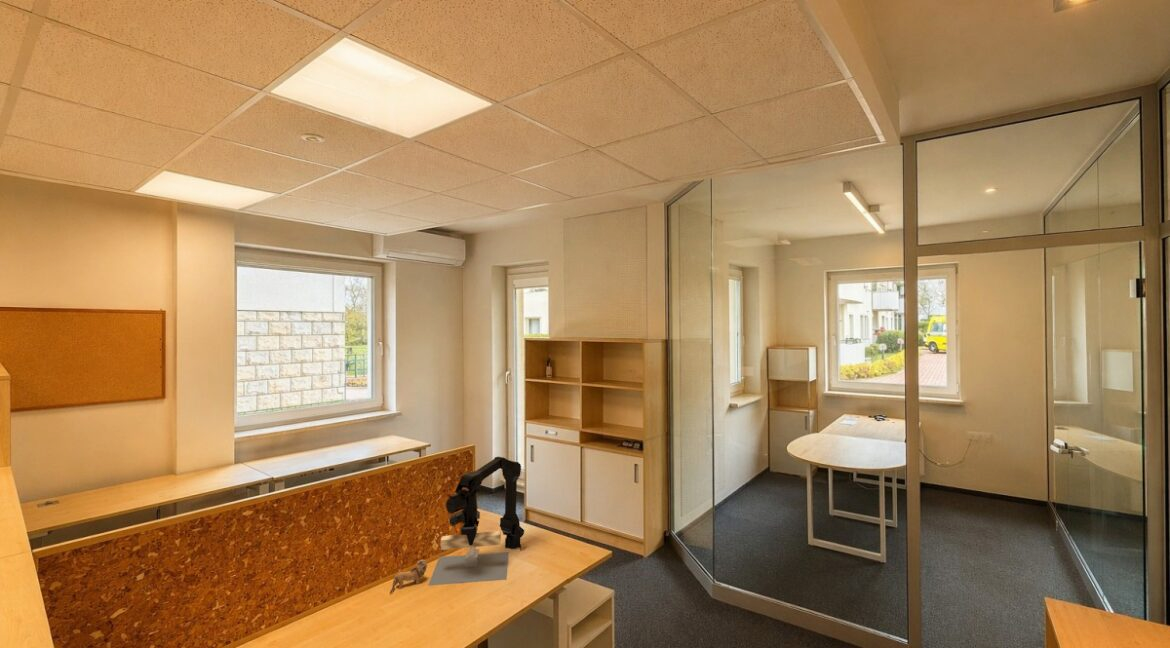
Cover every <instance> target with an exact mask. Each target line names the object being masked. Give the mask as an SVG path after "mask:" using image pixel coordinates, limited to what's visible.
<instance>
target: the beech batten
mask: <svg viewBox="0 0 1170 648" xmlns="http://www.w3.org/2000/svg"><path fill="white" fill-rule="evenodd" d="M501 531H502V530H496V531H485V532H477V533H476V536H475V539H474V542H473V545H469V542H468V538H467V535H461V533H460V534H451V535H441V538H440V550H441V551H445V550H454V549H455V550H456V549H467V548H470V547H476V548H478V547H487V546H488V547H489V546H498V545H499V546H500V545H501V544H502V542H501V540H502V534H501Z"/></svg>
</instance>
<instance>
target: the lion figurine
mask: <svg viewBox="0 0 1170 648" xmlns="http://www.w3.org/2000/svg"><path fill="white" fill-rule="evenodd" d="M427 568H428V564H427V560H425V559H420V560H418V561H417V562H416V564H415V566H414V567H413V568H412V569H411V570H409V571H399V572H398V573H397V574H395V576H394V578H393V581H392V585H391V586H392V587H391V589H390V591H389V594H392V593H393V592H394V591H395V590H396V588H395V587H396V586H397V585H399V586H398V589H399V590H402V589H403V585H404V581H405V582H412V581H413V583H416V585H419V584H420V581H421V578H423V577H424V576H425V573H426V571H427Z"/></svg>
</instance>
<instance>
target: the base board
mask: <svg viewBox="0 0 1170 648" xmlns="http://www.w3.org/2000/svg"><path fill="white" fill-rule="evenodd" d="M465 556H466V554H465V555H464V554H463V555H447V556H439V557H438V559H437V563H436V564H435V567H434V569H433V572H432V575H431V577H430V580H429V582H428V586H439V585H453V584H455V585H456V584H468V583H479V582H480V583H481V582H494V581H507V578H508V577H507V576H508V567H509V566H508V565H509V551H506V552H503V551H502V552H492V553H489V552H488V553H479V561H478V566H477V567H466V568H465Z"/></svg>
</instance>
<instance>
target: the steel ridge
mask: <svg viewBox="0 0 1170 648" xmlns="http://www.w3.org/2000/svg"><path fill="white" fill-rule="evenodd" d="M465 553H466V554H465V555H466V556H465V568H466V567H477V566H478V561H479V554H480V548H477V547H469V549H466V552H465Z"/></svg>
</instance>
